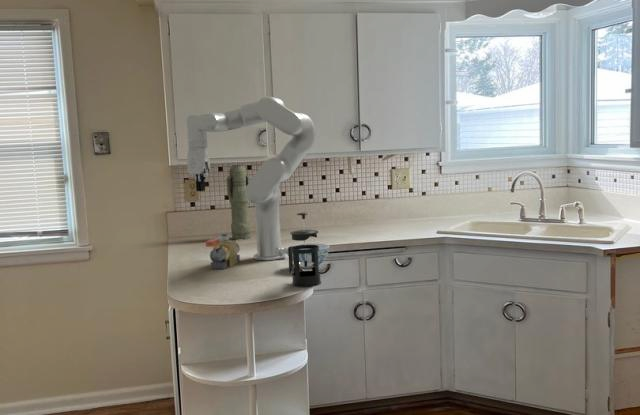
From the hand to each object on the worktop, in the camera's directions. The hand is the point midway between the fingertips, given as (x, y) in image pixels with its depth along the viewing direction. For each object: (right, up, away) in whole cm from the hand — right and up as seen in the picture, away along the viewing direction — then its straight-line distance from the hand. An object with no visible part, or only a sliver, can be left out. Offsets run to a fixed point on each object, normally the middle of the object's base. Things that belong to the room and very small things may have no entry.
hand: (200, 190), depth 260 cm
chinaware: (+44, -29, -28) cm, 60 cm away
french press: (+43, -31, -53) cm, 75 cm away
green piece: (+10, -22, +49) cm, 55 cm away
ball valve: (+12, -29, -16) cm, 35 cm away
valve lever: (+11, -20, -22) cm, 32 cm away
